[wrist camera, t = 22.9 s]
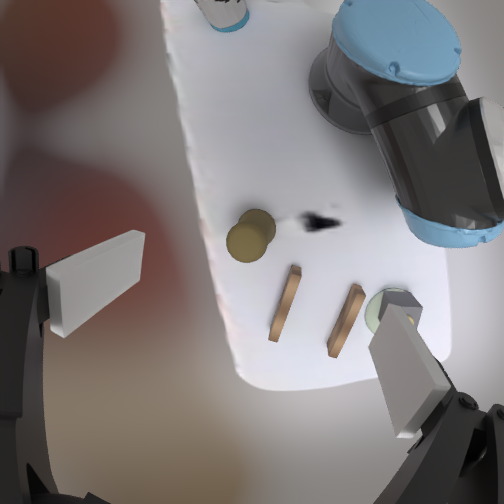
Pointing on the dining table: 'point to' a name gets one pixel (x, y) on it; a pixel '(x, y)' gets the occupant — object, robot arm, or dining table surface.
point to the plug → (402, 305)
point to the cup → (225, 13)
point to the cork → (251, 236)
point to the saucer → (375, 310)
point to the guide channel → (343, 322)
